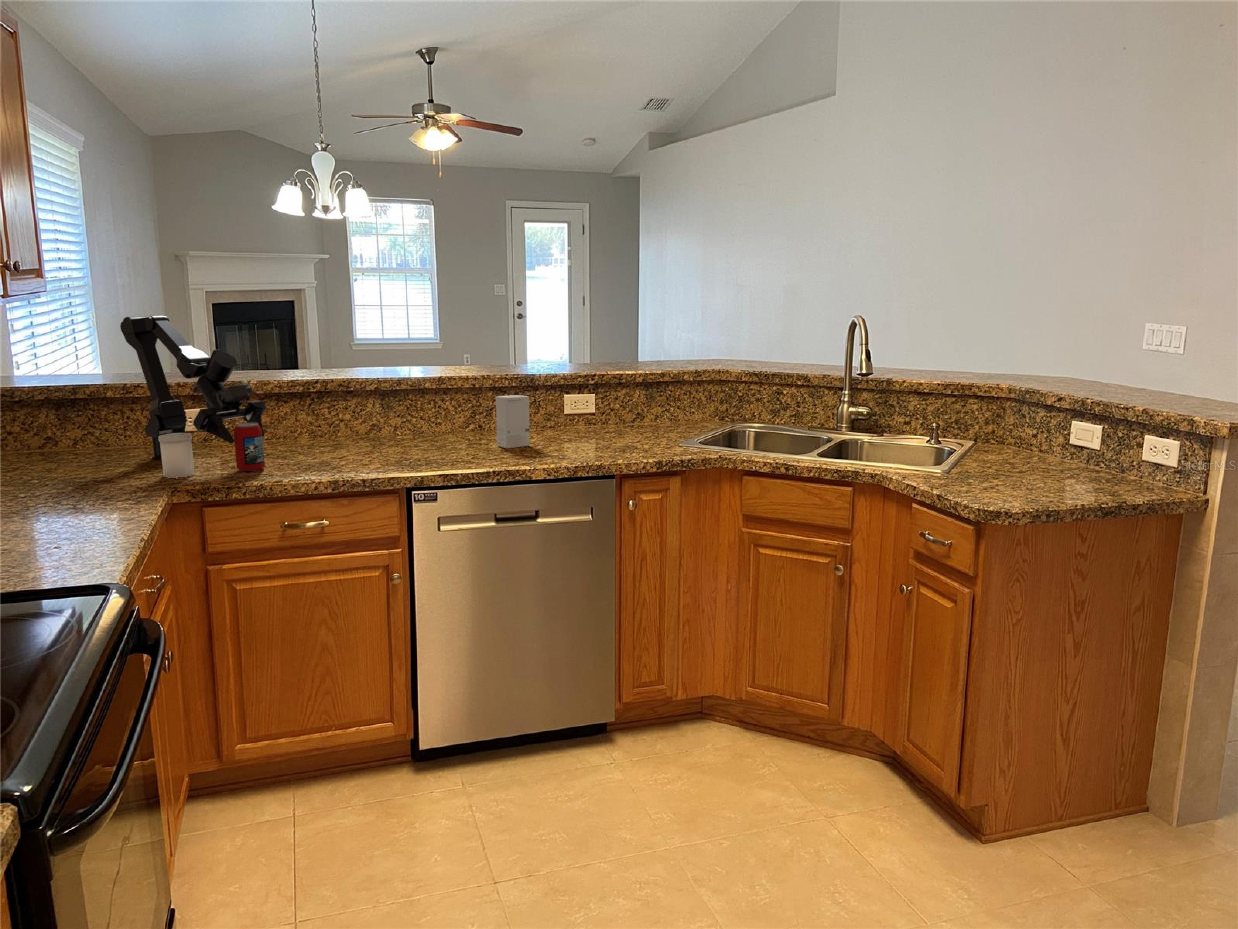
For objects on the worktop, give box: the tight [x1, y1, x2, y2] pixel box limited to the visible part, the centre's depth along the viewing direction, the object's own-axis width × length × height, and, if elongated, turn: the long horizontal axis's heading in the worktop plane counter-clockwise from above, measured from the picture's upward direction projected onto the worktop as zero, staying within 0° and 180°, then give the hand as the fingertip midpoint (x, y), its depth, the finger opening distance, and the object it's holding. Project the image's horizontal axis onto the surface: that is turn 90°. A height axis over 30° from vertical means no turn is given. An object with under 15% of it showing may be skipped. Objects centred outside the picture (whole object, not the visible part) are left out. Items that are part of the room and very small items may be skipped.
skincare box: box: [495, 394, 531, 450], centre depth 262 cm, size 8×6×15 cm
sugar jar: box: [158, 432, 195, 479], centre depth 224 cm, size 7×7×10 cm
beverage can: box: [233, 421, 266, 472], centre depth 230 cm, size 7×7×12 cm
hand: (248, 439), depth 230 cm, fingers open, 9 cm apart
